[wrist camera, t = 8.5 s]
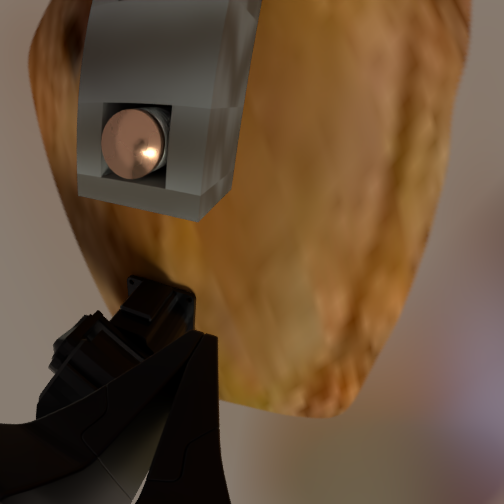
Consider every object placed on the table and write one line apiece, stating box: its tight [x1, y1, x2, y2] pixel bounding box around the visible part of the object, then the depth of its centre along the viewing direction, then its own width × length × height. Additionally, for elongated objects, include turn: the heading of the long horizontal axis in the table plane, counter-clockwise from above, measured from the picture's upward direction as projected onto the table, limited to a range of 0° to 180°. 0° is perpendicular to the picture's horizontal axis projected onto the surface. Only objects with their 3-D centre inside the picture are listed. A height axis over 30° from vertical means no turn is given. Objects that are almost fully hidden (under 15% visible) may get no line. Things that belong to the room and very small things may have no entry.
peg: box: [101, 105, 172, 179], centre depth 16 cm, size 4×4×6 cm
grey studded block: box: [77, 0, 262, 222], centre depth 14 cm, size 17×8×6 cm, turn 171°
